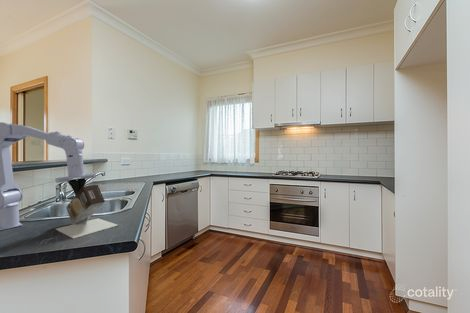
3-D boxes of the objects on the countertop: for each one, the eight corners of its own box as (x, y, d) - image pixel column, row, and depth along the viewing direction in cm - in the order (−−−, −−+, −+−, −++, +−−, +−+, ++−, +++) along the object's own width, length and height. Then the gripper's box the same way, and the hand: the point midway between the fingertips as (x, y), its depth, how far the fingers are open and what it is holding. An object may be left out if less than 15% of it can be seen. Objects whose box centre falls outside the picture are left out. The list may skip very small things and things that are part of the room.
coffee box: (64, 207, 95) (82, 185, 90) (80, 204, 101) (97, 183, 96) (72, 225, 93) (90, 204, 88) (87, 221, 99) (105, 201, 93)
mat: (55, 229, 89) (55, 228, 88) (98, 218, 102) (98, 218, 102) (73, 238, 78) (73, 237, 78) (118, 225, 92) (118, 224, 92)
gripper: (58, 167, 87) (61, 201, 87) (97, 163, 99) (100, 193, 99) (52, 167, 91) (55, 199, 91) (90, 164, 103) (93, 192, 103)
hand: (78, 196), depth 96 cm, fingers closed, pressing on coffee box
